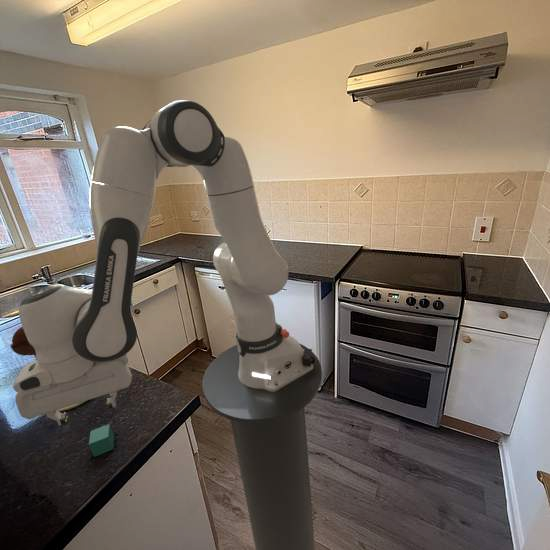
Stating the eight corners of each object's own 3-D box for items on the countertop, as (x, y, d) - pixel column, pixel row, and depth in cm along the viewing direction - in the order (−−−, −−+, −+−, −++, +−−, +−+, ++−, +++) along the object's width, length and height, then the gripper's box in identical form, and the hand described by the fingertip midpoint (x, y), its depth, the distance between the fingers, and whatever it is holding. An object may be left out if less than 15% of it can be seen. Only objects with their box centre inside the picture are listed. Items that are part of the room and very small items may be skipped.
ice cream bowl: (66, 355, 107) (50, 319, 101) (32, 375, 98) (13, 337, 92) (48, 350, 111) (33, 315, 106) (14, 369, 102) (-5, 331, 97)
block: (114, 436, 72) (109, 423, 71) (113, 449, 69) (108, 436, 67) (95, 443, 71) (90, 430, 69) (93, 457, 67) (88, 444, 66)
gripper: (124, 340, 67) (139, 388, 72) (13, 369, 60) (38, 421, 65) (123, 354, 62) (139, 406, 67) (1, 389, 55) (29, 444, 60)
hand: (88, 414), depth 66 cm, fingers open, 8 cm apart
